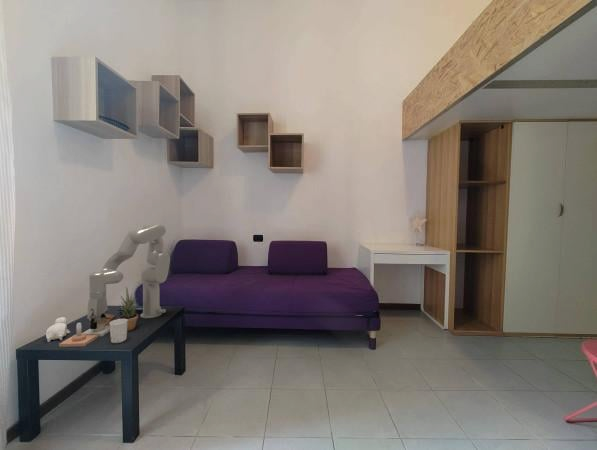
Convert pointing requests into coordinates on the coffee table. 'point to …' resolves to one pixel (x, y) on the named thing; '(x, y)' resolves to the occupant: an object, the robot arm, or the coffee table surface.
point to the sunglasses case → (109, 319)
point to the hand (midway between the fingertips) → (98, 325)
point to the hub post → (78, 338)
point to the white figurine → (57, 329)
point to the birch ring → (102, 322)
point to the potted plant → (129, 311)
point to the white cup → (118, 330)
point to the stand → (98, 330)
